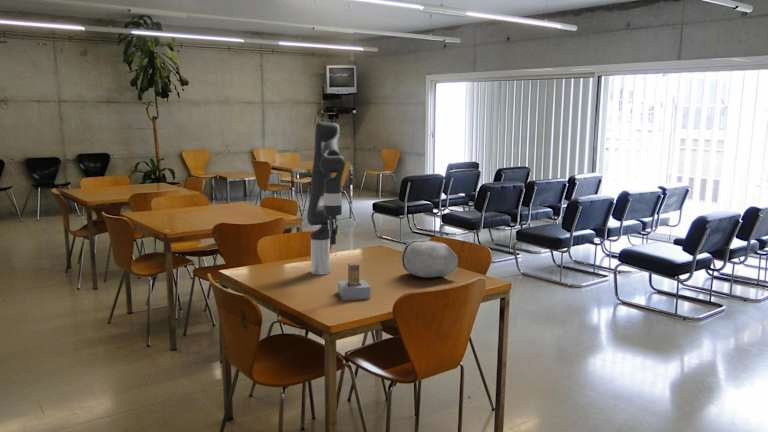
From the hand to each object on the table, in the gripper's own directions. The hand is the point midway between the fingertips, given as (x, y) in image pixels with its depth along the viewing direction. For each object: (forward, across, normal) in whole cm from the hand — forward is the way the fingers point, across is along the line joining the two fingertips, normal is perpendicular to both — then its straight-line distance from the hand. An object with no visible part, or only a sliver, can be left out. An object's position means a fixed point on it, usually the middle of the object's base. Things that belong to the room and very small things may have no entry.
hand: (332, 244), depth 257 cm
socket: (+23, 0, -9) cm, 25 cm away
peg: (+23, 0, -9) cm, 25 cm away
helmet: (+23, +26, -52) cm, 62 cm away
